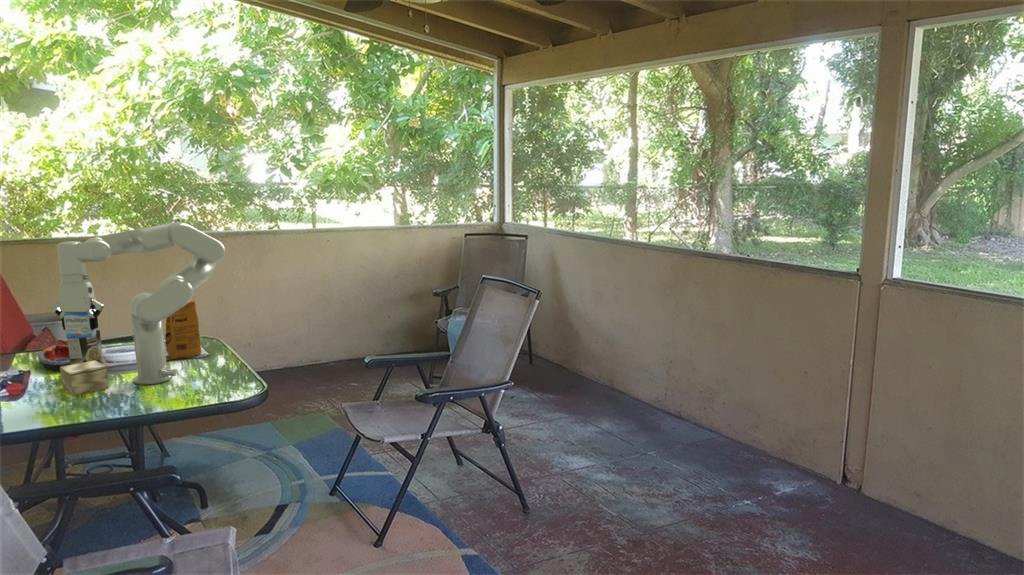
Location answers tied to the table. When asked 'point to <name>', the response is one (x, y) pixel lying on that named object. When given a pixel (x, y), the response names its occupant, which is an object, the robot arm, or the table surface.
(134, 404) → the table surface
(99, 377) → the carton
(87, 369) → the carton lid
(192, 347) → the coffee package
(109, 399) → the table surface
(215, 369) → the table surface
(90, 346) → the coffee box
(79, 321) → the medicine box
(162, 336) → the robot arm
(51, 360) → the dish
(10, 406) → the table surface
